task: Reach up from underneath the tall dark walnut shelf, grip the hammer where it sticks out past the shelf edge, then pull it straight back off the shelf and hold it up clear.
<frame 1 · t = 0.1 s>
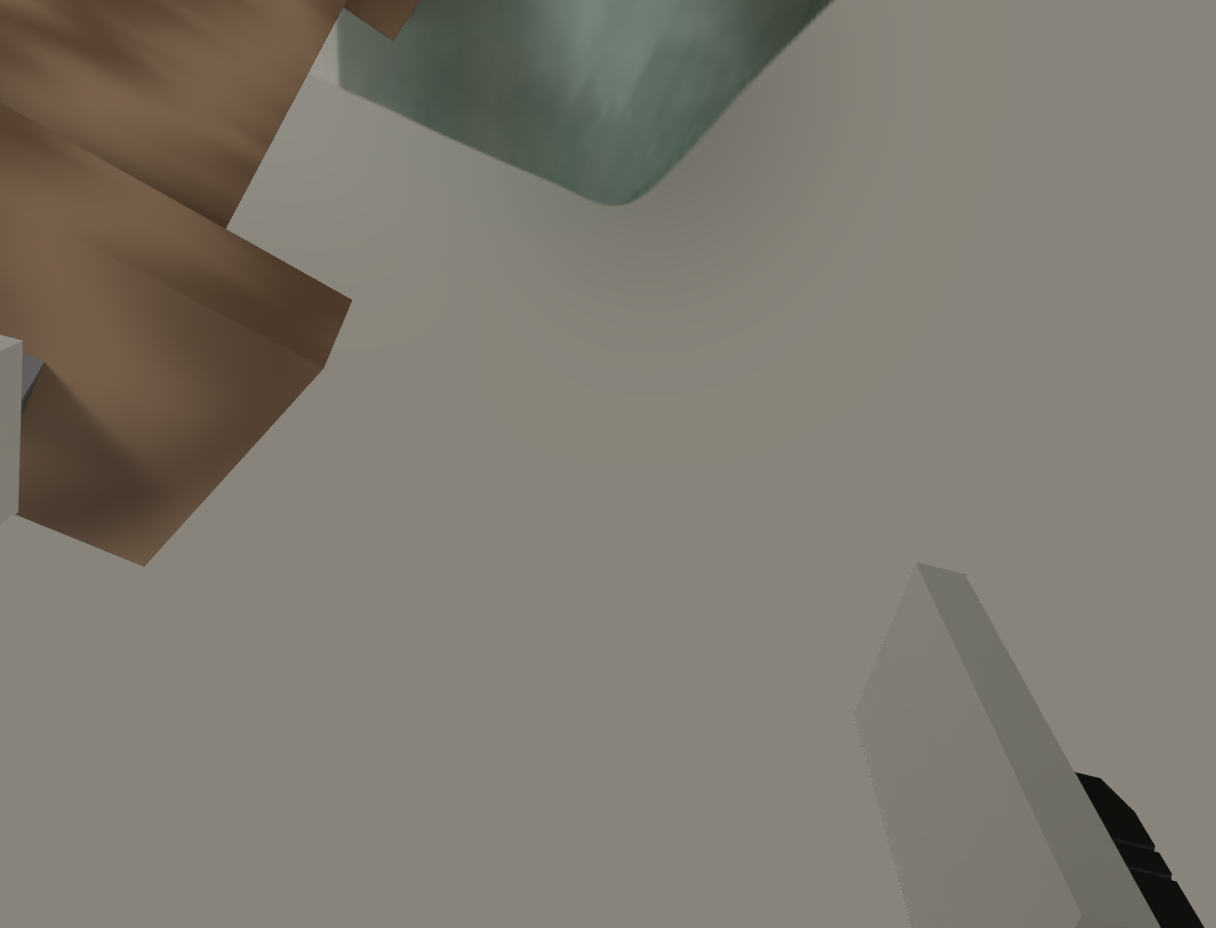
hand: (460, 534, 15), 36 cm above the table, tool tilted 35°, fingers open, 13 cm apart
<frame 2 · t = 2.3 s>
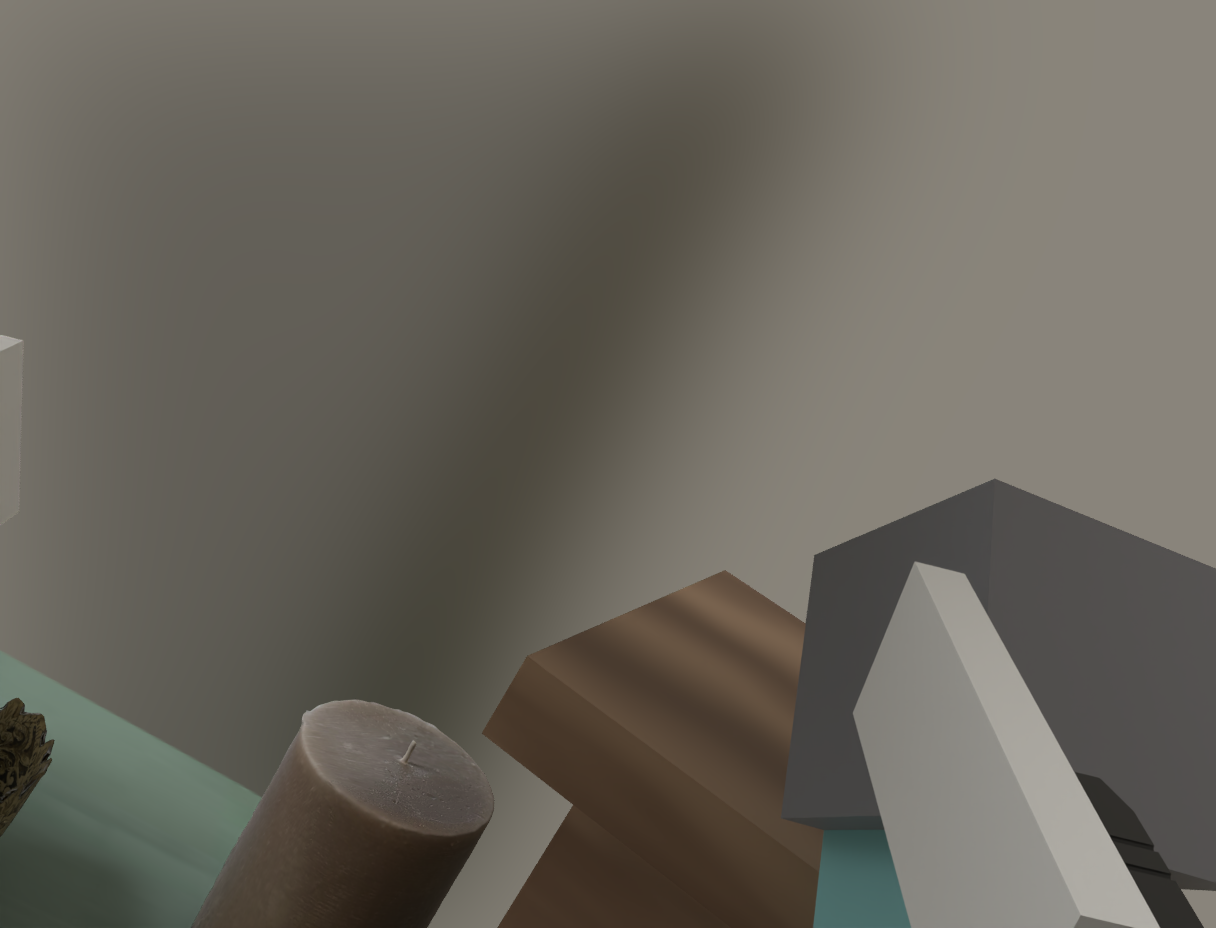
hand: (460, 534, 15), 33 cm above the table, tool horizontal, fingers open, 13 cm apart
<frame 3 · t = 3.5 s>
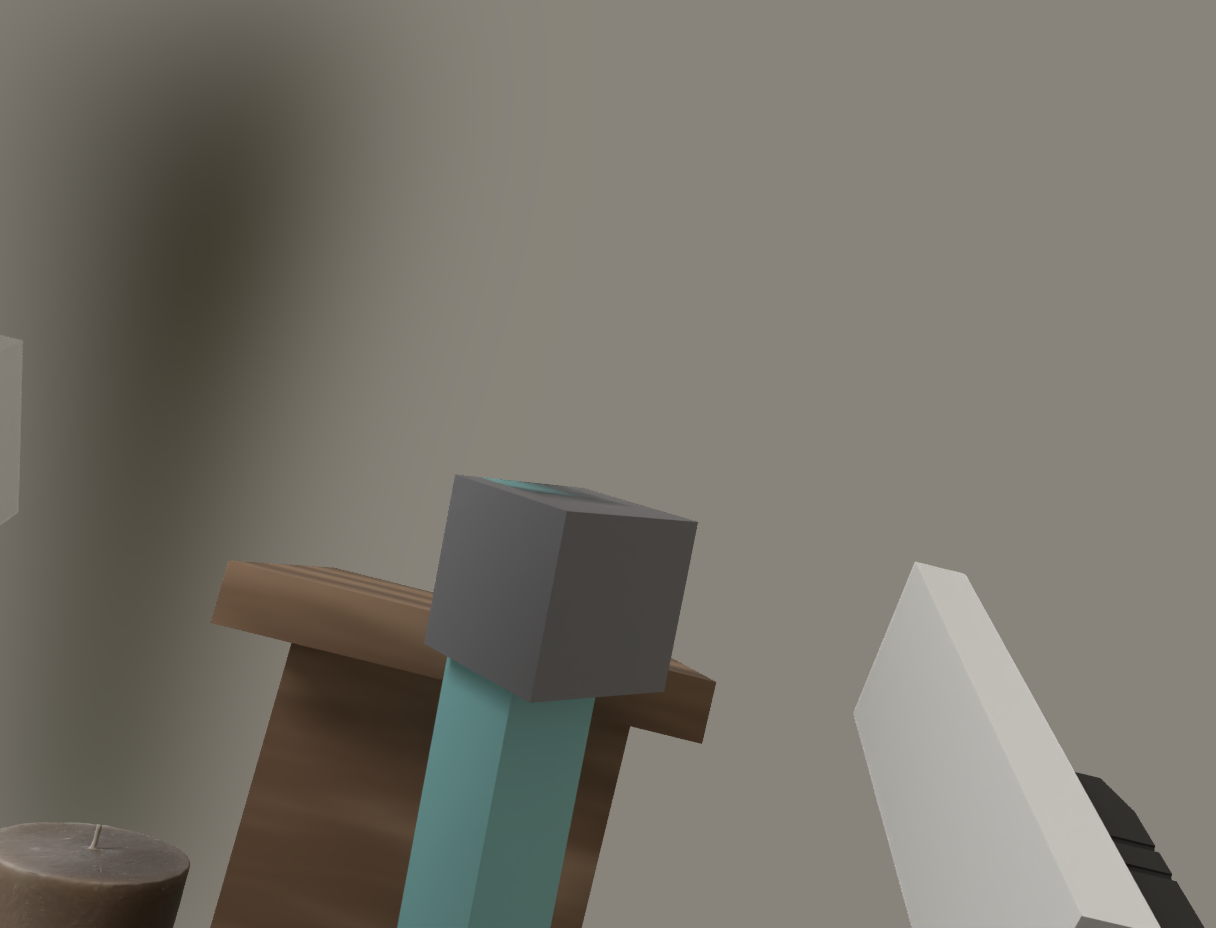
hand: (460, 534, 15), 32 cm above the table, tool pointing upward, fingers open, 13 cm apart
hammer: (454, 844, 32), point 23 cm above the table, tilted 96°, touching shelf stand
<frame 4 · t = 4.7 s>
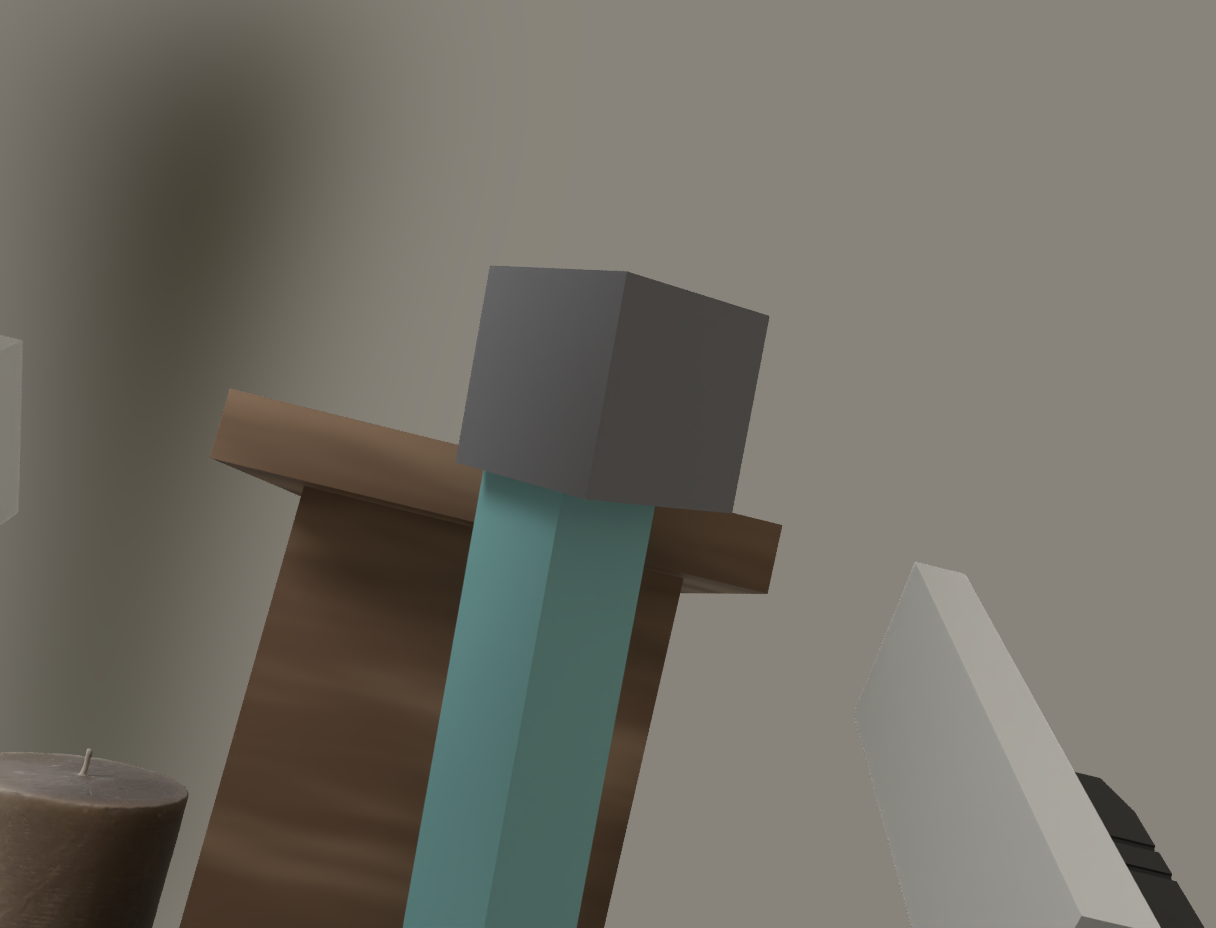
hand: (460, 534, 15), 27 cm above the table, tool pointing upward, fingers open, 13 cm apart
hammer: (489, 705, 28), point 23 cm above the table, tilted 96°, touching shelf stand
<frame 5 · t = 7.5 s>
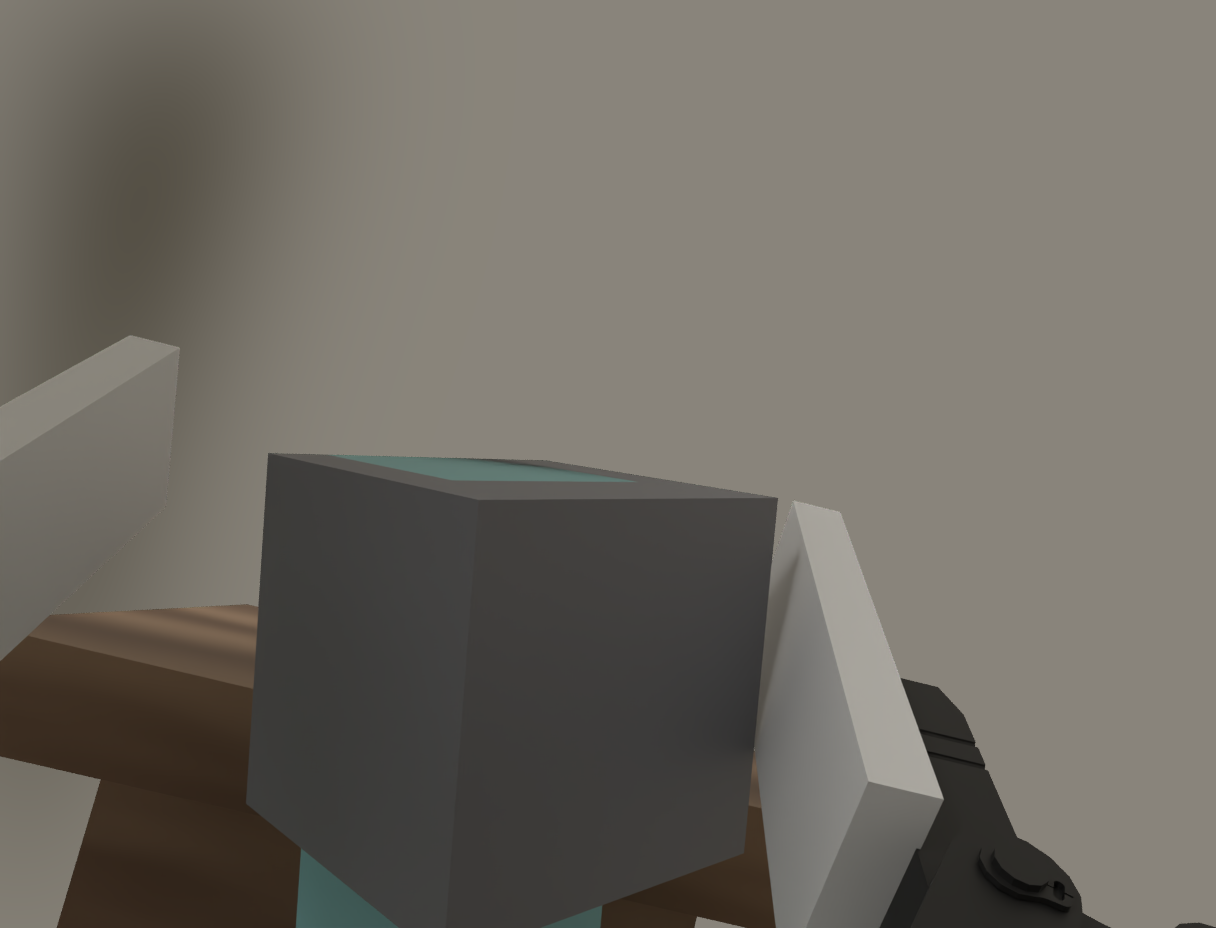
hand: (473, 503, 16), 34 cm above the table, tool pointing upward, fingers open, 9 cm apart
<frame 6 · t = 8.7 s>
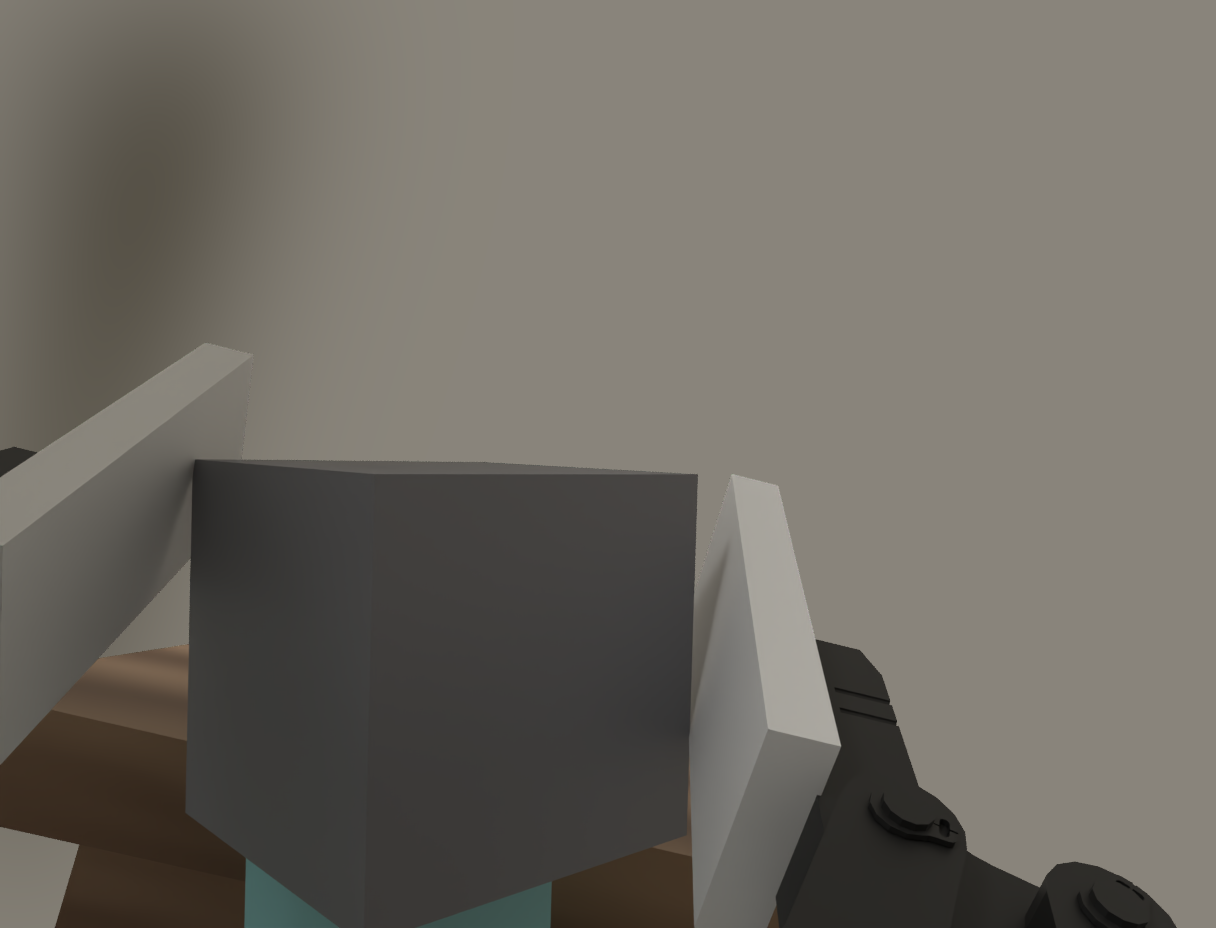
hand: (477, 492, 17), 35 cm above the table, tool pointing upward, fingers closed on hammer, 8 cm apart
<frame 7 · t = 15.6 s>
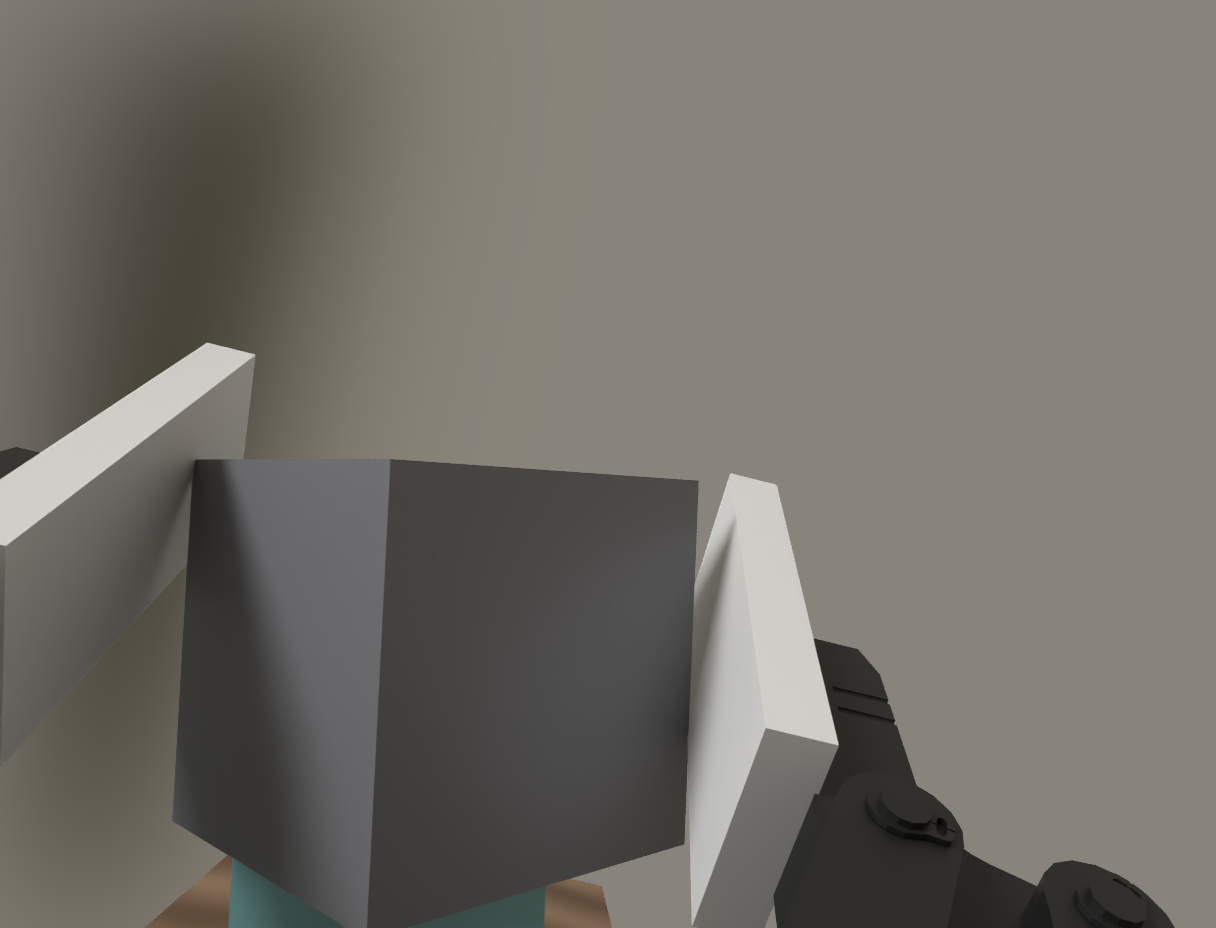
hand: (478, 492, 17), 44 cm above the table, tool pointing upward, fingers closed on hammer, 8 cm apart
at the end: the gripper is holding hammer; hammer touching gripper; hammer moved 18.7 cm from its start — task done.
